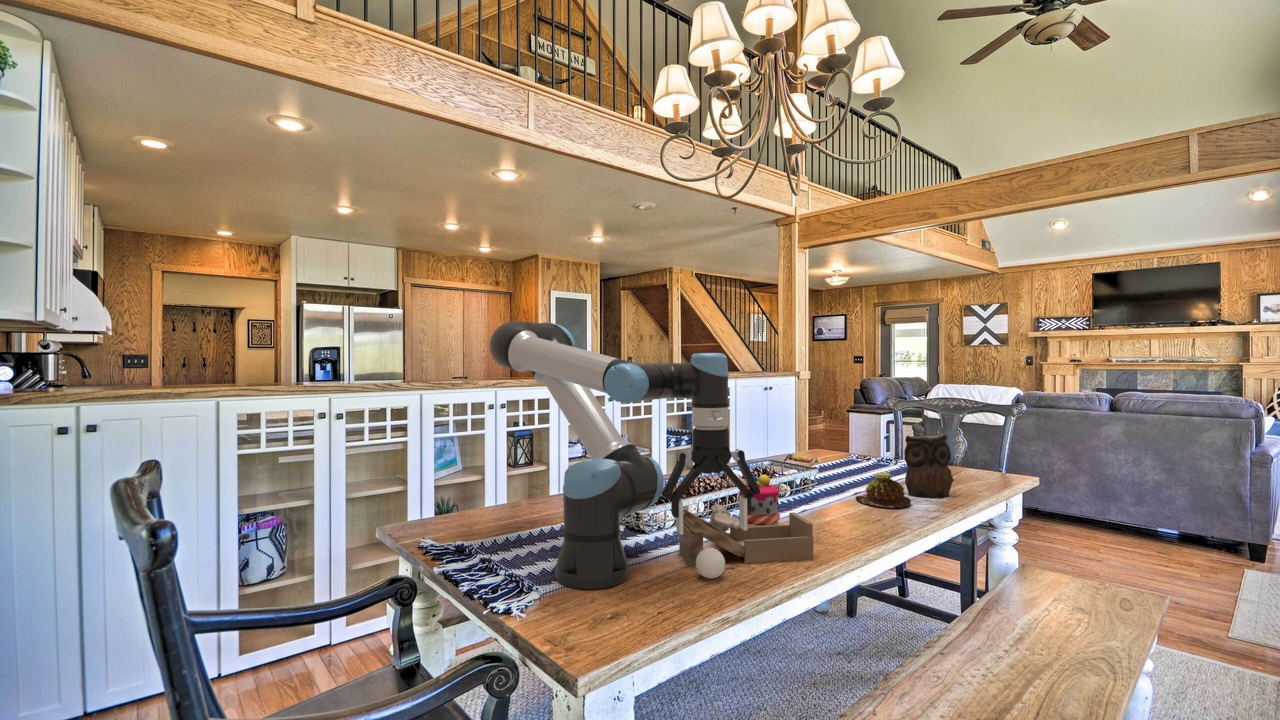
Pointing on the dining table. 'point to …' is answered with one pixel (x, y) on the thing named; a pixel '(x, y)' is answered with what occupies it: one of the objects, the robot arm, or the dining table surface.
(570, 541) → the robot arm
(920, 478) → the dark brown owl statuette
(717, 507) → the rock
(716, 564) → the ball
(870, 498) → the cactus
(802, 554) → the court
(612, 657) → the dining table surface
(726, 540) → the ramp
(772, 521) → the cake
